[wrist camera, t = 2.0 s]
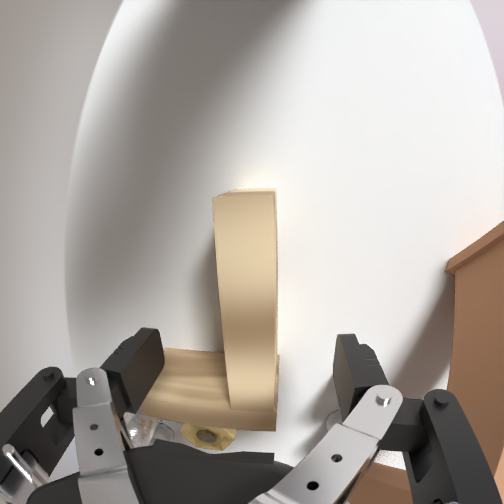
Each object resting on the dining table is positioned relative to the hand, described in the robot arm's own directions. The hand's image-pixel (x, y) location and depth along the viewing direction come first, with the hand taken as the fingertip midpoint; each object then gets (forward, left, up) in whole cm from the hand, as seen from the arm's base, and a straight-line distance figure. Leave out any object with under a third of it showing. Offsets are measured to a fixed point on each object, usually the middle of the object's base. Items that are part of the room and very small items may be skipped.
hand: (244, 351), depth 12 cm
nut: (+13, -4, -7) cm, 16 cm away
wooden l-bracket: (+1, -3, -7) cm, 8 cm away
